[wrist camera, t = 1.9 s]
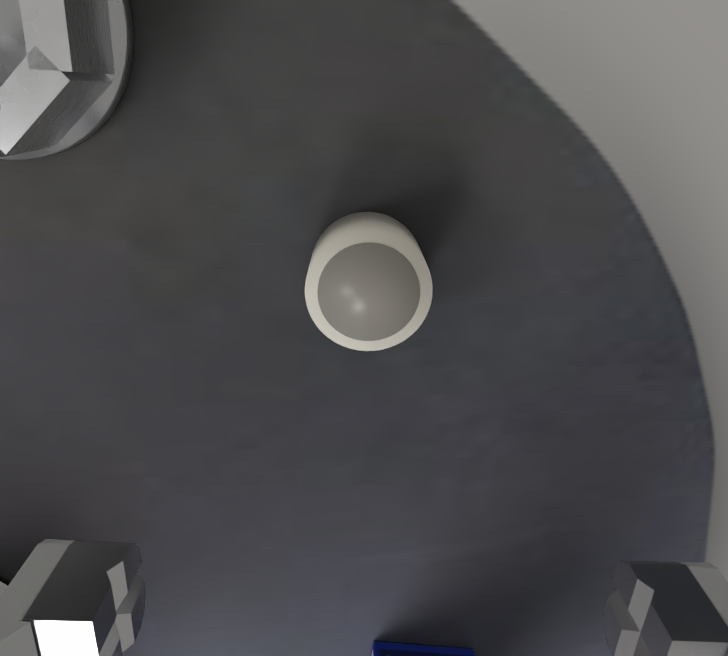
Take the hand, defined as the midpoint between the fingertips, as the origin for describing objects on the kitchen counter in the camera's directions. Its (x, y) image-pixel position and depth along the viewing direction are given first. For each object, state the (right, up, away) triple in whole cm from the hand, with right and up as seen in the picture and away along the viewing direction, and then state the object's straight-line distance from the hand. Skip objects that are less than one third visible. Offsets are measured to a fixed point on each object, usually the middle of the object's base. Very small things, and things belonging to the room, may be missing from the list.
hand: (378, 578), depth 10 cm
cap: (0, +7, +19) cm, 20 cm away
